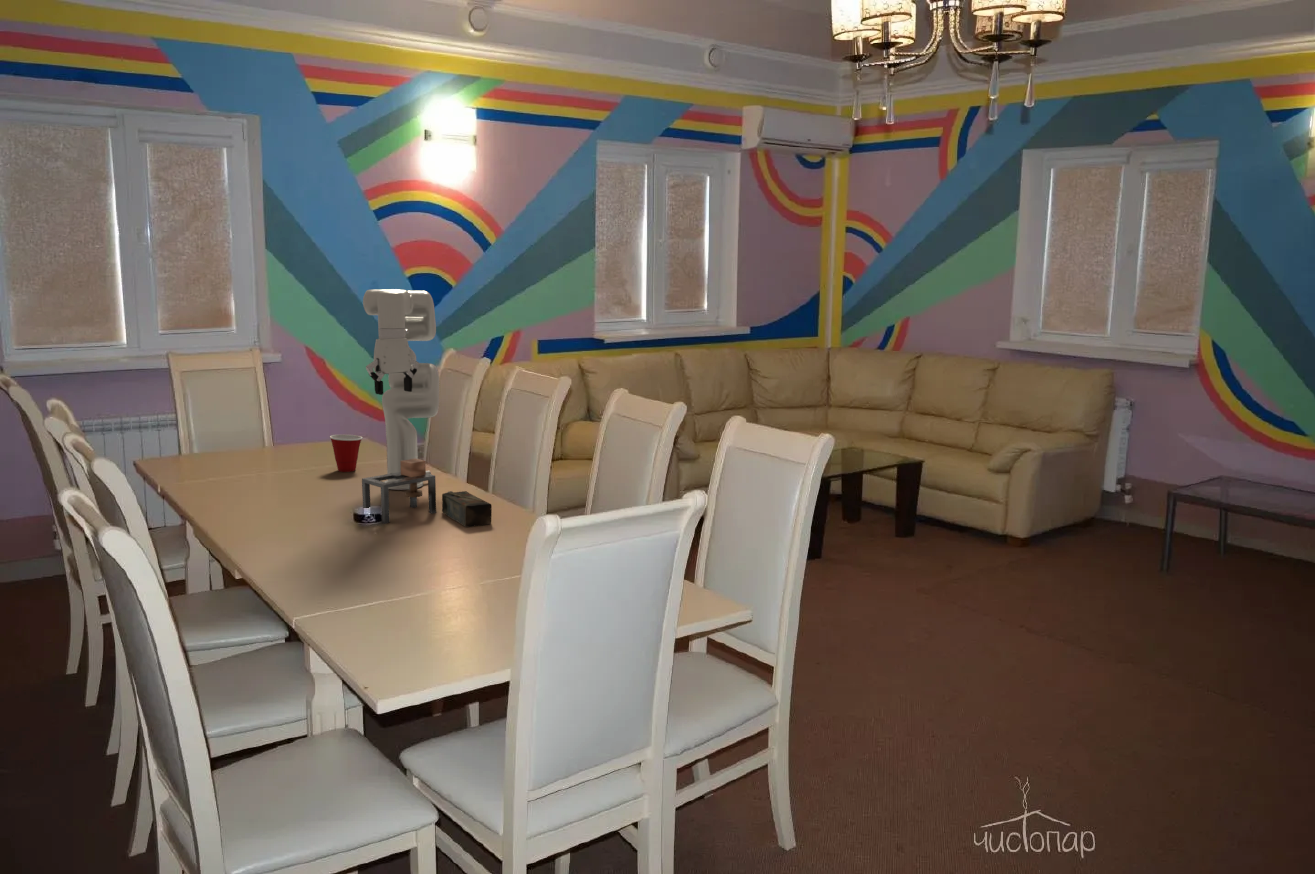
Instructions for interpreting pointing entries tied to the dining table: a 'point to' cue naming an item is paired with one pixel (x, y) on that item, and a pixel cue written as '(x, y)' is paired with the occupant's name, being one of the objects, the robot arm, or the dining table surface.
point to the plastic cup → (346, 451)
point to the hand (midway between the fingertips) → (393, 392)
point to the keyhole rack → (405, 480)
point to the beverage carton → (466, 508)
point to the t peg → (413, 474)
